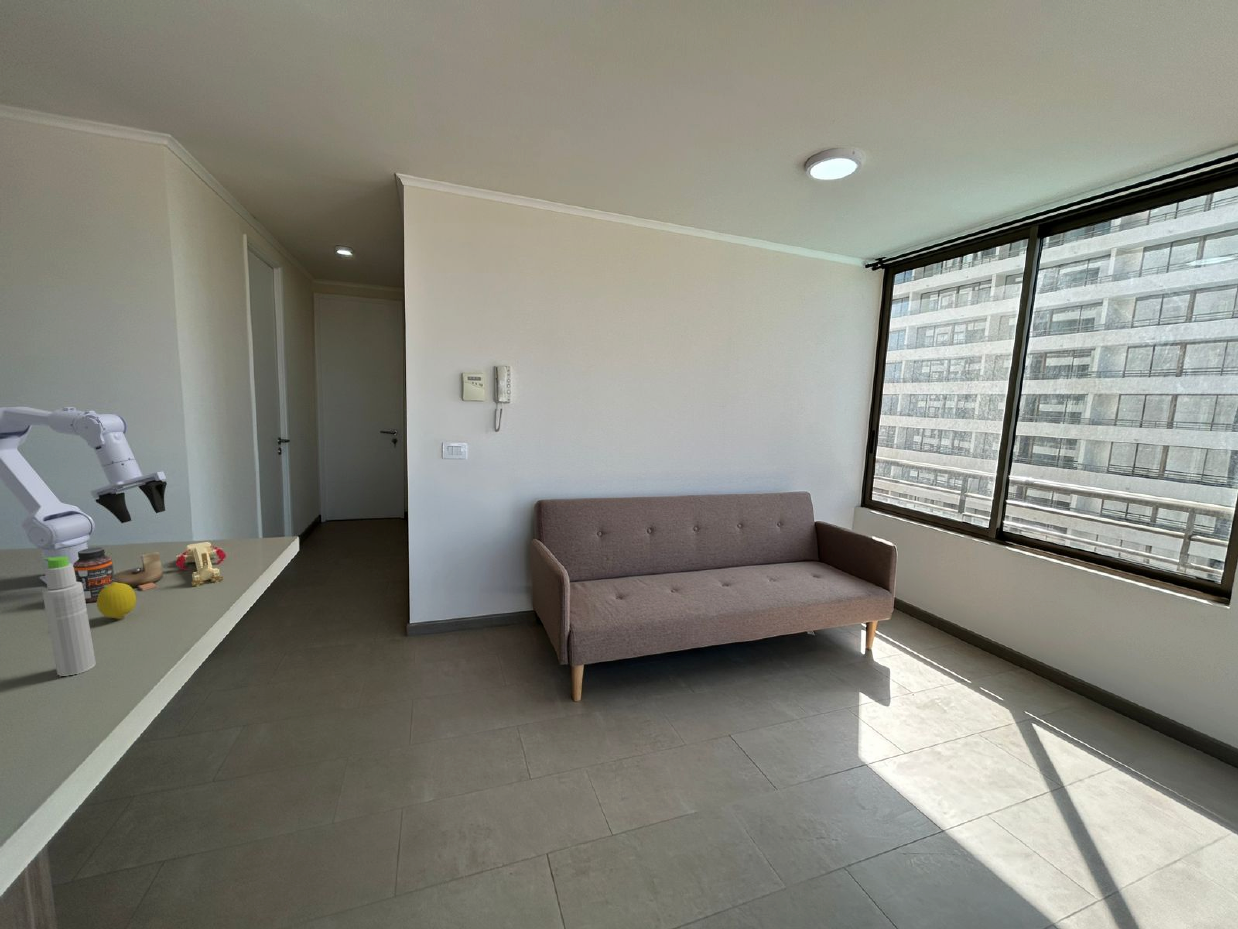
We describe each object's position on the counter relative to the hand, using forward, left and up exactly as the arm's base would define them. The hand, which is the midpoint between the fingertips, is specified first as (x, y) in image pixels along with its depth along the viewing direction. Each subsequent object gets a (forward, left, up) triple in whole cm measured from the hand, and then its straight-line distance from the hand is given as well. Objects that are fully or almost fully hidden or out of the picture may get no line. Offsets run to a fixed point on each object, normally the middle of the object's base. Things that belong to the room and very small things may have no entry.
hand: (143, 517), depth 115 cm
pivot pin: (-2, -2, -14) cm, 14 cm away
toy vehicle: (+1, +10, -17) cm, 19 cm away
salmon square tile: (+4, -2, -16) cm, 17 cm away
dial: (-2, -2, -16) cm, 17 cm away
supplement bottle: (+1, -10, -17) cm, 19 cm away
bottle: (+37, -21, -17) cm, 45 cm away
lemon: (+19, -11, -17) cm, 27 cm away
